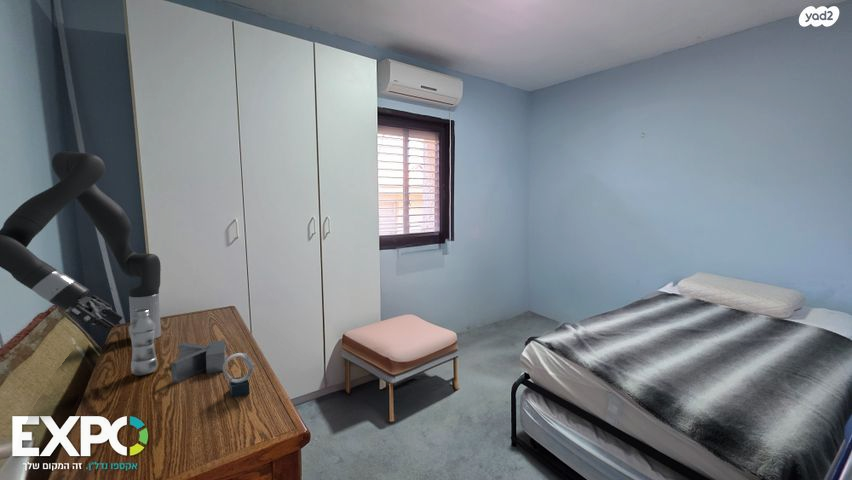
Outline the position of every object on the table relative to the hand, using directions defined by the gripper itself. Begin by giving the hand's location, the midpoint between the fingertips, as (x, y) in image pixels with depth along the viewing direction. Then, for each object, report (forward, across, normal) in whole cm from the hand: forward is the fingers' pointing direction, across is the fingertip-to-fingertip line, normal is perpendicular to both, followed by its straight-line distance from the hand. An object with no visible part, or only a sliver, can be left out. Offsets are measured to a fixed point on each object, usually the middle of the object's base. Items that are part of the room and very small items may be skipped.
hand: (116, 324), depth 108 cm
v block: (+27, -2, -3) cm, 27 cm away
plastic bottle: (+16, 0, +7) cm, 18 cm away
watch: (+35, -25, -11) cm, 44 cm away
